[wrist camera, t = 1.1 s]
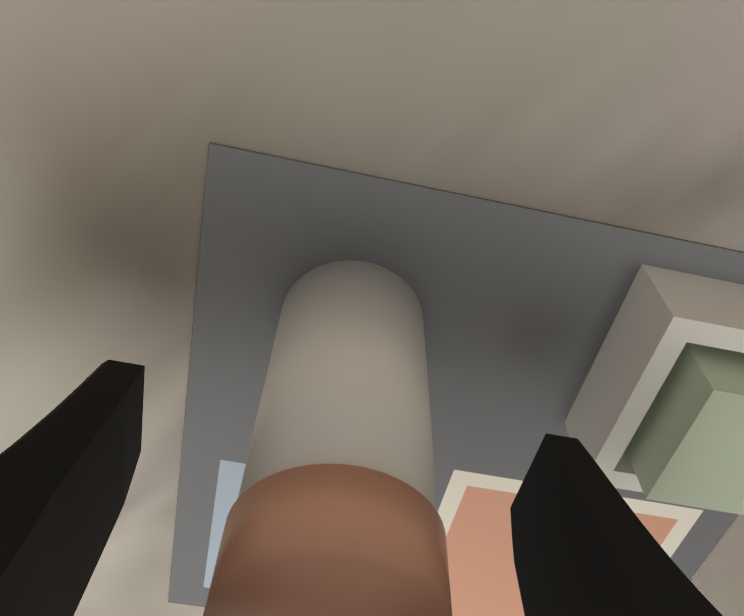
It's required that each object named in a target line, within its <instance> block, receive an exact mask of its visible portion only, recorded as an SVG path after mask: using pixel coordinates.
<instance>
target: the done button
mask: <svg viewBox="0 0 744 616" xmlns="http://www.w3.org/2000/svg"><path fill="white" fill-rule="evenodd" d="M626 451H627V453H628V456H629V458H630V461H631V464H632V466H633V469H634V471H635V474H636V476H637V479H638V481H639V484H640V486H641V489H642V491H643V494H644V496H645V499H648V500H654V501H660V502H666V503H673V504H679V505H685V506H691V507H697V508H703V509H709V510H715V511H721V512H728V513H734V514H740V515H744V353H741V352H736V351H731V350H725V349H720V348H715V347H709V346H704V345H699V344H694V343H688V342H686V344H685V346H684V348H683V349H682V351H681V353H680V355H679V356H678V358H677V360H676V362H675V363H674V365H673V367H672V369H671V370H670V372H669V374H668V376H667V378H666V379H665V381H664V383H663V385H662V386H661V388H660V390H659V392H658V393H657V395H656V397H655V399H654V400H653V402H652V404H651V406H650V407H649V409H648V411H647V413H646V414H645V416H644V418H643V420H642V421H641V423H640V425H639V427H638V428H637V430H636V432H635V434H634V435H633V437H632V439H631V441H630V442H629V444H628V446H627V448H626Z"/></svg>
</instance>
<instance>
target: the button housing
mask: <svg viewBox="0 0 744 616" xmlns="http://www.w3.org/2000/svg"><path fill="white" fill-rule="evenodd" d="M686 342H688V343H694V344H699V345H704V346H709V347H715V348H720V349H725V350H731V351H736V352H741V353H744V285H743V284H738V283H734V282H729V281H724V280H719V279H714V278H709V277H704V276H699V275H694V274H689V273H684V272H679V271H674V270H669V269H664V268H659V267H654V266H649V265H644V264H642V265H641V267H640V269H639V271H638V273H637V275H636V277H635V279H634V281H633V283H632V285H631V287H630V289H629V291H628V293H627V295H626V297H625V299H624V301H623V303H622V305H621V308H620V310H619V312H618V314H617V316H616V318H615V320H614V322H613V324H612V326H611V328H610V330H609V332H608V334H607V336H606V338H605V340H604V342H603V344H602V346H601V348H600V350H599V352H598V354H597V357H596V359H595V361H594V363H593V365H592V367H591V369H590V371H589V373H588V375H587V377H586V379H585V381H584V383H583V385H582V387H581V389H580V391H579V393H578V395H577V397H576V399H575V401H574V403H573V406H572V408H571V410H570V412H569V414H568V416H567V418H566V420H565V426H566V429H567V432H568V435H569V437H571V438H577V439H578V440H579V441H580V442H581V443H582V445H583V446H584V447H585V448H586V450H587V451H588V452H589V454H590V455H591V456H592V458H593V459H594V460H595V461H596V463H597V464H598V465H599V467H600V468H601V470H602V471H603V472H604V474H605V475H606V476H607V478H608V479H609V480H610V482H611V483H612V484H613V486H614V487H615V488H618V489H624V490H630V491H636V492H642V493H643V491H642V489H641V486H640V484H639V481H638V479H637V476H636V474H635V471H634V469H633V466H632V464H631V461H630V458H629V456H628V453H627V451H626V448H627V446H628V444H629V442H630V441H631V439H632V437H633V435H634V434H635V432H636V430H637V428H638V427H639V425H640V423H641V421H642V420H643V418H644V416H645V414H646V413H647V411H648V409H649V407H650V406H651V404H652V402H653V400H654V399H655V397H656V395H657V393H658V392H659V390H660V388H661V386H662V385H663V383H664V381H665V379H666V378H667V376H668V374H669V372H670V370H671V369H672V367H673V365H674V363H675V362H676V360H677V358H678V356H679V355H680V353H681V351H682V349H683V348H684V346H685V344H686Z"/></svg>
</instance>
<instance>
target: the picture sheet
mask: <svg viewBox="0 0 744 616" xmlns="http://www.w3.org/2000/svg"><path fill="white" fill-rule="evenodd" d="M344 260H358V261H365V262H370V263H374V264H377V265H380V266H382V267H385V268H387V269H389V270H391V271H392V272H394V273H396V274H397V275H398V276H400V277H401V278H402V279H403V280H405V281H406V282H407V283H408V284H409V286H410V287H411V288H412V289H413V291H414V292H415V294H416V295H417V297H418V299H419V302H420V304H421V307H422V311H423V320H424V334H425V348H426V361H427V375H428V389H429V402H430V416H431V429H432V443H433V457H434V470H435V484H436V498H437V511H438V514H439V516H440V518H441V520H442V522H443V525H444V528H445V533H446V544H447V556H448V568H449V580H450V592H451V604H452V616H525V614H524V610H523V605H522V600H521V595H520V590H519V585H518V580H517V575H516V569H515V564H514V556H513V544H512V530H511V513H510V507H511V505H512V503H513V501H514V499H515V497H516V495H517V493H518V491H519V488H520V486H521V484H522V482H523V480H524V478H525V476H526V474H527V472H528V470H529V468H530V465H531V463H532V461H533V459H534V457H535V455H536V453H537V451H538V449H539V447H540V444H541V442H542V440H543V438H544V436H545V434H546V433H547V434H553V435H559V436H565V437H569V435H568V432H567V429H566V426H565V420H566V418H567V416H568V414H569V412H570V410H571V408H572V406H573V403H574V401H575V399H576V397H577V395H578V393H579V391H580V389H581V387H582V385H583V383H584V381H585V379H586V377H587V375H588V373H589V371H590V369H591V367H592V365H593V363H594V361H595V359H596V357H597V354H598V352H599V350H600V348H601V346H602V344H603V342H604V340H605V338H606V336H607V334H608V332H609V330H610V328H611V326H612V324H613V322H614V320H615V318H616V316H617V314H618V312H619V310H620V308H621V305H622V303H623V301H624V299H625V297H626V295H627V293H628V291H629V289H630V287H631V285H632V283H633V281H634V279H635V277H636V275H637V273H638V271H639V269H640V267H641V265H642V264H644V265H649V266H654V267H659V268H664V269H669V270H674V271H679V272H684V273H689V274H694V275H699V276H704V277H709V278H714V279H719V280H724V281H729V282H734V283H738V284H743V285H744V252H741V251H736V250H731V249H726V248H722V247H717V246H712V245H707V244H702V243H697V242H692V241H687V240H683V239H678V238H673V237H668V236H663V235H658V234H653V233H649V232H644V231H639V230H634V229H629V228H624V227H619V226H615V225H610V224H605V223H600V222H595V221H590V220H585V219H580V218H576V217H571V216H566V215H561V214H556V213H551V212H546V211H542V210H537V209H532V208H527V207H522V206H517V205H512V204H508V203H503V202H498V201H493V200H488V199H483V198H478V197H473V196H469V195H464V194H459V193H454V192H449V191H444V190H439V189H435V188H430V187H425V186H420V185H415V184H410V183H405V182H401V181H396V180H391V179H386V178H381V177H376V176H371V175H367V174H362V173H357V172H352V171H347V170H342V169H337V168H332V167H328V166H323V165H318V164H313V163H308V162H303V161H298V160H294V159H289V158H284V157H279V156H274V155H269V154H264V153H260V152H255V151H250V150H245V149H240V148H235V147H230V146H225V145H221V144H216V143H211V142H210V143H209V153H208V164H207V175H206V186H205V197H204V208H203V220H202V231H201V242H200V253H199V264H198V275H197V286H196V298H195V309H194V320H193V331H192V342H191V353H190V365H189V376H188V387H187V398H186V409H185V420H184V432H183V443H182V454H181V465H180V476H179V487H178V498H177V510H176V521H175V532H174V543H173V554H172V565H171V577H170V588H169V599H168V602H171V603H178V604H186V605H193V606H200V607H205V606H206V601H207V597H208V593H209V589H210V585H211V581H212V576H213V572H214V568H215V564H216V560H217V556H218V552H219V547H220V543H221V539H222V535H223V531H224V527H225V523H226V519H227V515H228V513H229V511H230V509H231V507H232V506H233V504H234V503H235V501H236V500H237V499H238V496H239V491H240V487H241V483H242V478H243V474H244V470H245V465H246V461H247V457H248V452H249V448H250V444H251V440H252V435H253V431H254V427H255V422H256V418H257V414H258V409H259V405H260V401H261V396H262V392H263V388H264V383H265V379H266V375H267V370H268V366H269V362H270V357H271V353H272V349H273V344H274V340H275V336H276V331H277V327H278V323H279V318H280V314H281V310H282V306H283V302H284V299H285V297H286V295H287V293H288V291H289V290H290V288H291V287H292V286H293V285H294V283H295V282H296V281H297V280H298V279H299V278H301V277H302V276H303V275H304V274H306V273H307V272H309V271H310V270H312V269H314V268H316V267H318V266H321V265H324V264H327V263H331V262H335V261H344ZM616 490H617V491H618V492H619V494H620V495H621V496H622V498H623V499H624V500H625V502H626V503H627V504H628V505H629V507H630V508H631V509H632V511H633V512H634V513H635V515H636V516H637V517H638V518H639V520H640V521H641V522H642V524H643V525H644V526H645V527H646V529H647V530H648V531H649V532H650V534H651V535H652V536H653V537H654V539H655V540H656V541H657V542H658V544H659V545H660V546H661V547H662V548H663V550H664V551H665V552H666V553H667V554H668V556H669V557H670V558H671V559H672V560H673V562H674V563H675V564H676V565H677V566H678V567H679V568H680V570H681V571H682V572H683V573H684V574H685V575H686V577H687V578H688V579H689V580H690V579H691V578H692V577H693V575H694V574H695V573H696V571H697V570H698V569H699V567H700V566H701V564H702V563H703V562H704V560H705V559H706V558H707V556H708V555H709V554H710V552H711V551H712V550H713V548H714V547H715V546H716V544H717V543H718V542H719V540H720V539H721V538H722V536H723V535H724V534H725V532H726V531H727V530H728V528H729V527H730V526H731V524H732V523H733V522H734V520H735V519H736V518H737V516H738V515H739V514H734V513H728V512H721V511H715V510H709V509H703V508H697V507H691V506H685V505H679V504H673V503H666V502H660V501H654V500H648V499H645V496H644V494H643V493H642V492H636V491H630V490H624V489H618V488H616Z"/></svg>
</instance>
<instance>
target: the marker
mask: <svg viewBox="0 0 744 616" xmlns="http://www.w3.org/2000/svg"><path fill="white" fill-rule="evenodd" d="M203 616H452V604H451V592H450V580H449V568H448V556H447V544H446V533H445V528H444V525H443V522H442V520H441V518H440V516H439V514H438V511H437V498H436V484H435V470H434V457H433V443H432V429H431V416H430V402H429V389H428V375H427V361H426V348H425V334H424V320H423V311H422V307H421V304H420V302H419V299H418V297H417V295H416V294H415V292H414V291H413V289H412V288H411V287H410V286H409V284H408V283H407V282H406V281H405V280H403V279H402V278H401V277H400V276H398V275H397V274H396V273H394V272H392V271H391V270H389V269H387V268H385V267H382V266H380V265H377V264H374V263H370V262H365V261H358V260H344V261H335V262H331V263H327V264H324V265H321V266H318V267H316V268H314V269H312V270H310V271H309V272H307V273H306V274H304V275H303V276H302V277H301V278H299V279H298V280H297V281H296V282H295V283H294V285H293V286H292V287H291V288H290V290H289V291H288V293H287V295H286V297H285V299H284V302H283V306H282V310H281V314H280V318H279V323H278V327H277V331H276V336H275V340H274V344H273V349H272V353H271V357H270V362H269V366H268V370H267V375H266V379H265V383H264V388H263V392H262V396H261V401H260V405H259V409H258V414H257V418H256V422H255V427H254V431H253V435H252V440H251V444H250V448H249V452H248V457H247V461H246V465H245V470H244V474H243V478H242V483H241V487H240V491H239V496H238V499H237V500H236V501H235V503H234V504H233V506H232V507H231V509H230V511H229V513H228V515H227V519H226V523H225V527H224V531H223V535H222V539H221V543H220V547H219V552H218V556H217V560H216V564H215V568H214V572H213V576H212V581H211V585H210V589H209V593H208V597H207V601H206V606H205V610H204V614H203Z"/></svg>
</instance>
